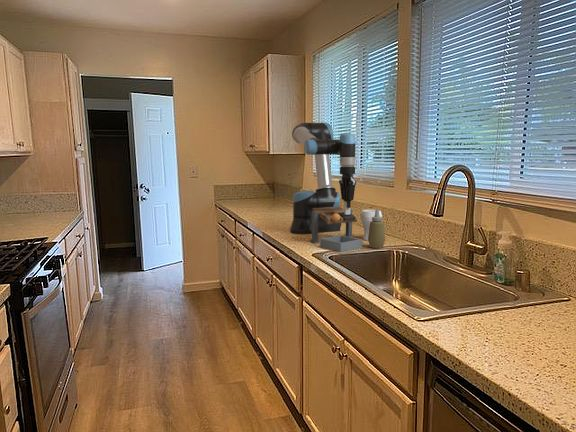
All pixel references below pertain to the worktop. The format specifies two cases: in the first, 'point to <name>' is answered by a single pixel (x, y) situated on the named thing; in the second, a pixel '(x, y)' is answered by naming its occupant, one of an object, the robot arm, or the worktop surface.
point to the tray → (340, 243)
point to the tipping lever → (326, 219)
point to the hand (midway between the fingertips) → (347, 214)
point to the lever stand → (315, 227)
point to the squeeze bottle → (376, 231)
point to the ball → (336, 217)
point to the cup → (367, 220)
